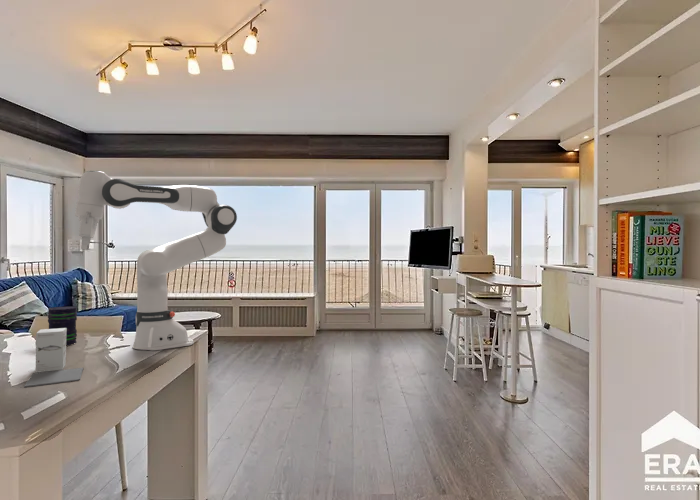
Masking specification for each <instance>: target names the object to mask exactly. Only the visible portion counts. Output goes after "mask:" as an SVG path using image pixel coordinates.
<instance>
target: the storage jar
mask: <svg viewBox="0 0 700 500" xmlns="http://www.w3.org/2000/svg"><path fill="white" fill-rule="evenodd" d="M77 309H78V308H77V306H74V305H73V306H72V305H71V306H69V305H68V306H54V307H53V306H52V307H48V309H47V311H48V312H47V323H48V329H57V328H67V332H66V345H68V346H72V345H71V344H73V345H75V344H74V343H76V344H77V337H78V334H77V333H78V331H77V320H78V316H77V315H78V313H77V312H78V311H77Z"/></svg>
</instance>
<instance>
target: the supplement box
mask: <svg viewBox="0 0 700 500" xmlns="http://www.w3.org/2000/svg"><path fill="white" fill-rule="evenodd" d="M66 332H67V328H57V329H49V328H42V329H41V328H40V329H39V330H38V331H37V332H36V333H35V334H36V335H35V370H34V371H35V372H34V373H40V372H49V371H57V370H64V368H65V367H66V363H67V360H66V359H67V346H66Z"/></svg>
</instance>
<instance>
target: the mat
mask: <svg viewBox="0 0 700 500" xmlns="http://www.w3.org/2000/svg"><path fill="white" fill-rule="evenodd" d="M83 370H84V367H77V368H67V369H63V370H56V371H45V372H37V373H35V372H33V373H32V374H31V376H30V377H29V378H28V380H27V381H26V383H25V385H23V387H24V388H31V387H39V386H47V385H57V384H63V383H70V382H71V381H72V382H78V380H80V381H81V378H82V375H83Z"/></svg>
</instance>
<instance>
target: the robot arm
mask: <svg viewBox="0 0 700 500" xmlns="http://www.w3.org/2000/svg"><path fill="white" fill-rule="evenodd" d="M77 194H78V199H77V201H76V205H75V206H76V207H75V213H74V216H75V217H78V222H80V225H79V230H78V231H79V233H78V235H79V236H80V237H81V245H80V247H81V248H80V249H81V250H87V251H88V250H90V245H91V240H92V239H94V237H95V233H96V230H97V226H98V224H99V221H100V220H103V218H104V211H105V206H109V207H111V208H114V209H116V210H117V209H119V210H121V209H124V208H127V207H129V206H130V205H131V204H133V203H147V204H148V203H153V204H161V205H164V206H166V207H168V208H169V209H171V210H174V211H180V212H191V213H192V212H195V213H196V212H198V213H201V215H202V218H203V220H204V223H205V225H206V229H204V230H202V231H200V232H196V233H193V234H191V235H188V236H185V237H182V238H178V239H176V240H174V241H170V242H168V243H165V244H163V245H159V246H156V247H154V248H151V249H150V248H149V249H145V250H144V251H143V252H141V253H140V254H139V256H138V258H137V259H136V281H137V282H136V283H137V288H136V289H137V293H136V294H137V295H136V299H137V301H136V304H137V310H136V312H135V325H136V326H135V327H136V330H135V331H136V332H135V337H134V341H133V343H132V349H136V350H142V351H143V350H148V351H160V350H167V349H174V348H180V347H181V348H182V347H188V346H191V345H192V346H193V345H194V339H192V338H191V337H189V335H188V331H187V329H186V327H185V326H183V325H182V324H181V323H179V322H178V321H177V320H175V319H173V318H174V317H175V316H176V313H175V311H171V310H170V309H168V307H169V306H168V304H169V302H168V301H169V300H168V297H169V296H168V295H169V294H168V292H169V291H168V279H167V278H168V277H167V275H168V274H169V273H171V272H173V271H176V270H178V269H180V268H182V267H185V266H188V265H190V264H192V263H193V264H194V263H196V262H199V261H200V260H203V259H205V258H208V257H210V256H213V255H215V254H217V253H218V252H221V251H222V250H224V249H225V247H226V245H227V239H226V236H225V235H227V234H228V233H229V232H230V231H231V229H232V228H233V227H234V226H235V225H236V223H237V219H238V216H237V215H238V214H237V212H236V210H235V209H234V208H233V207H232V206H230V205H227V204H220V203H218V196H217V192H216V191H215V190H213V189H212V188H210V187H205V186H200V185H189V184H178V185H177V184H176V185H169V186H155V185H154V186H151V185H141V184H140V185H138V184H134V183H131V182H129V181H127V180H124V179H120V178H112V177H110V176H109V175H108V174H106V172H104V171H99V170H87V171H85V172H83V173H82V175H81V176H80V179H79V185H78V191H77Z"/></svg>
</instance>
